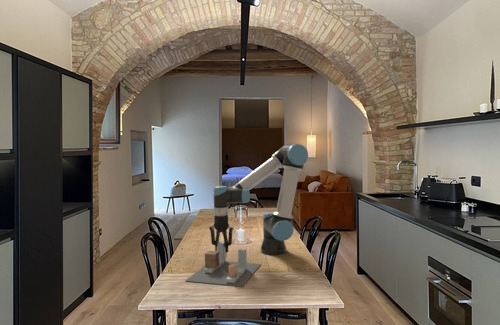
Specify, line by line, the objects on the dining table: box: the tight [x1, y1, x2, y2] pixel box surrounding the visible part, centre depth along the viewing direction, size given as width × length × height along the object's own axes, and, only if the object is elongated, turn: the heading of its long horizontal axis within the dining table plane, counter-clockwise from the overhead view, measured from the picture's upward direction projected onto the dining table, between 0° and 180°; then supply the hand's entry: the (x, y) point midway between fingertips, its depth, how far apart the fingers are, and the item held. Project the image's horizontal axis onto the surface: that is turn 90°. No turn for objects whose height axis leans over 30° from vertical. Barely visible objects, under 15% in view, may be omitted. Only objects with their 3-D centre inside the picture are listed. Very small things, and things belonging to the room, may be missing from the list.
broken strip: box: [226, 247, 248, 283], centre depth 179 cm, size 20×4×10 cm, turn 163°
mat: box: [185, 260, 262, 288], centre depth 185 cm, size 32×28×1 cm
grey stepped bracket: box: [204, 241, 227, 273], centre depth 193 cm, size 20×4×10 cm, turn 163°
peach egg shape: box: [229, 264, 237, 278], centre depth 173 cm, size 4×4×5 cm
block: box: [204, 250, 219, 268], centre depth 188 cm, size 6×6×7 cm
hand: (221, 257), depth 201 cm, fingers closed on grey stepped bracket, 3 cm apart
